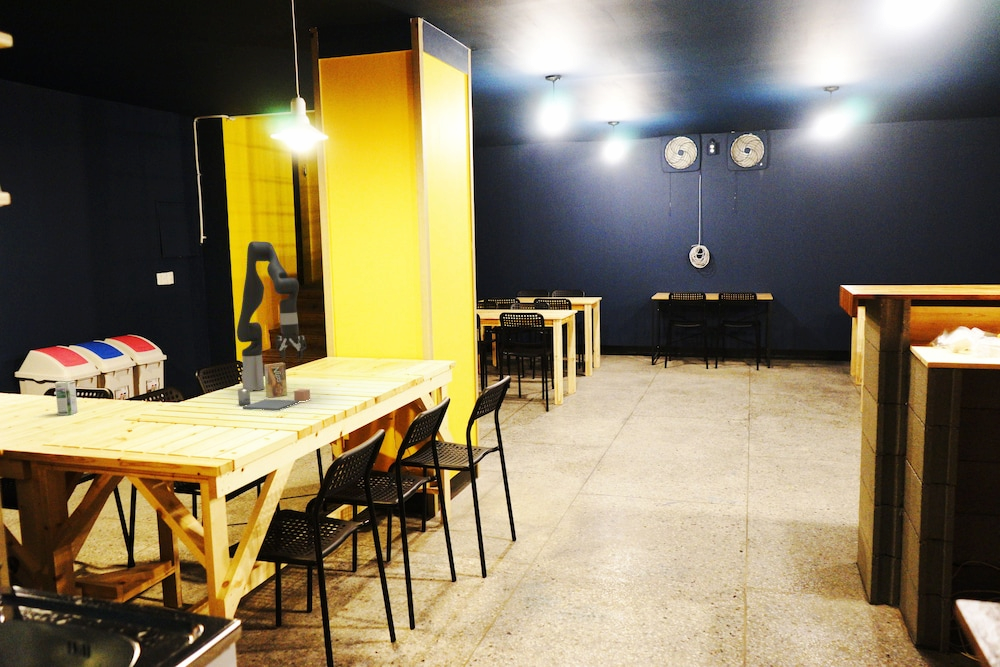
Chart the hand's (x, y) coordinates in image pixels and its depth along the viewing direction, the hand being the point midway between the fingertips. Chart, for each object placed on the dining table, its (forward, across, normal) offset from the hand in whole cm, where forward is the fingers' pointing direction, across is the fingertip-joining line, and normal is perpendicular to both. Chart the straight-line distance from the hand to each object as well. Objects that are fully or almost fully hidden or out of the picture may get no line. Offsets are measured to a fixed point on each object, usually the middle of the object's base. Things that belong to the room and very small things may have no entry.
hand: (291, 358), depth 336 cm
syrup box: (+19, +87, +43) cm, 98 cm away
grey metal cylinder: (+19, +19, +10) cm, 29 cm away
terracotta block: (+20, -2, -2) cm, 20 cm away
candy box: (+19, +17, -10) cm, 28 cm away
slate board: (+20, +5, +10) cm, 22 cm away
